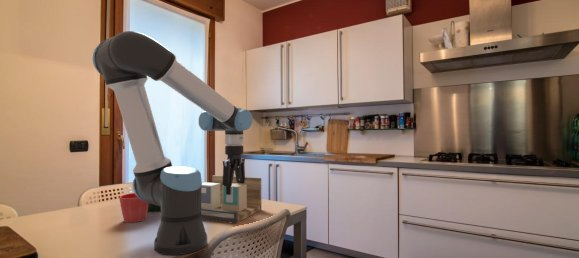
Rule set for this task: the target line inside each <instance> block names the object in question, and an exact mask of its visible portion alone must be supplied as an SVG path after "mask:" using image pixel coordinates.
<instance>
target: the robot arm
mask: <svg viewBox="0 0 579 258" xmlns="http://www.w3.org/2000/svg"><path fill="white" fill-rule="evenodd" d="M92 64H93V67H94V68H95V70H96V72H97V73H99V75H101V76H103V79H104V83H105V85H106V87H107V88H109V89H110V90H112V91H113V92H114V95H115V99H116V102H117V106H118V109H119V111H120V115H121V117H122V122H123V126H124V127H125V130H126V133H127V137H128V142H129V144H130V147H131V150H132V154H133V157H134V160H135V163H136V164H135V165H134V168H133V169H132V171H133V172H132V173H133V176H134V179H133V180H132V190H133V193H135V194H136V196H137V197H138V198H139V199H141V200H142V201H144V202H146V203H149V204H155V205H158V206H161V211H160V223H159V226H158V230H157V234H156V237H155V239H154V242H153V246H154V247H153V248H154V249H153V251H155V252H156V253H157V254H159V255H164V256H165V255H166V256H179V255H185V254H190V253H194V252H197V251H200V250H201V249H203V248H204V247H206V246H207V245H208V234H207V232H206V229H205V226H204V223H203V219H202V218H201V186H202V183H203V181H202V175H201V174H202V173H201V171H199V170H198V169H197V168H194V167H190V166H183V165H181V166H180V165H179V166H178V165H175V166H173V163H172V160H171V158H169V157H167V156H165V153H164V150H163V146H162V143H161V138H160V136H159V132H158V130H157V126H156V123H155V118H154V116H153V110H152V109H151V105H150V102H149V98H148V94H147V91H146V87H145V84H146V82H147V81H148V79H149V78H150V79H152V80H153V81H154V82H155V81H156V82H159V81H161V82H162V83H164V84H165V85H166V86H168V87H169V88H171V89H173V91H175V92H177V93H178V94H179V95H180V96H181V95H182V97H184V98H186V99H187V100H188V101H189V102H191V103H193V104H194V105H196V106H197V107H198V108H200V109H201V110H203V111H202V112H201V113H200V114H199V116H198V126H199V128H200V130H202V131H205V132H206V131H207V132H220V131H221V132H224V136H225V137H224V145H225V146H224V154H225V155H227V159H226V160H223V161H222V166H223V167H222V169H223V170H222V176H223V185H224V186H226V202H228V203H233V186H232V181H233V176H234V175H235V177H236V180H237V183H236V184H242V183H244V182H245V177H246V170H245V169H246V168H245V167H246V166H245V160H246V158H245V157H244V158H243V157H242V156H241V155H243V154H244V146H243V144H244V131H247V130H249V129H251V127H252V125H253V120H254V119H253V115H252V113H251V112H250V110H248V109H243V108H241V107H236V106H235V105H234V104H232V103H231V102H230V101H229V100H227V99H226V98H225V97H223V95H221V94H220V93H218V92H217V91H216V90H214V89H213V88H212V87H211V86H209V85H208V84H207V83H206V82H205V81H204V80H202V79H201V78H200V77H198V76H197V75H196V74H194V73H193V72H192V71H191V70H189V69H188V68H187V67H186V66H184V65H183V64H182V63H180V62H179V61H178V60H177V55H175V53H173V52H172V51H171V50H169V49H168V48H167V47H166V46H164V45H163V44H162V43H159V41H157V40H155V39H154V38H152V37H150V36H148V35H146V34H145V33H141V32H138V31H135V30H134V31H133V30H129V31H127V30H126V31H123V32H120V33H118V34H116V35H114V36H112V37H109V38H106V39H104V40H102V41H101V42H100V43H99V44H98V45H97V46H96V47H95V48H94V50H93V52H92Z"/></svg>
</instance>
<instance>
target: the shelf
mask: <svg viewBox="0 0 579 258" xmlns="http://www.w3.org/2000/svg"><path fill="white" fill-rule="evenodd" d="M211 183H220V207H217V208H215V209H205V208H201V218H202V220H206V221H213V220H214V222H221V223H222V222H223V223H229V222H232V224H238V223H240V222H242V221H244V220H245V219H247V218H249V217H251V216H253V215H255V214H257V213H258V212H260V211H262V178H261V177H252V176H251V177H247V176H245V182H244V183H242V184H247V208H246V209H244V210H242V211H240V212H237V211H228V210H222V186H223V175H214V174H213V175H212V182H211ZM232 183H234V184H236V183H237V180H236V175H235V176H234V175H233V181H232ZM254 213H255V214H254ZM252 214H253V215H252ZM243 219H244V220H243ZM241 220H242V221H241ZM239 221H240V222H239ZM237 222H238V223H237Z"/></svg>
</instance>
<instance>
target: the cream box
mask: <svg viewBox="0 0 579 258" xmlns="http://www.w3.org/2000/svg"><path fill="white" fill-rule="evenodd" d="M217 207H220V183H212V182H205V181H204V182H202V186H201V208H205V209H215V208H217Z"/></svg>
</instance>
